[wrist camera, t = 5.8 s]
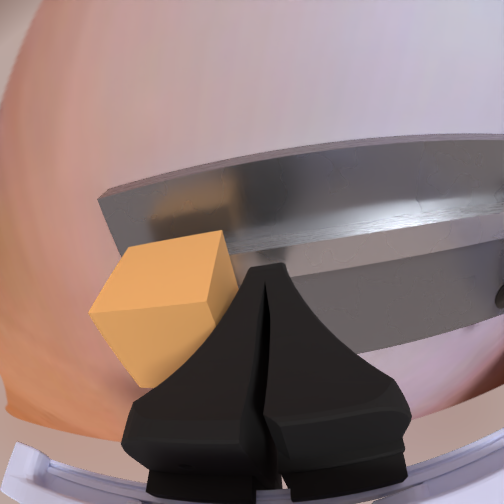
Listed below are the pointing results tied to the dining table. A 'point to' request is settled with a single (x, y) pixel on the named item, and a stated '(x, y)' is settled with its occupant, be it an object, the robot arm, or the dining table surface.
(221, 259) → the block
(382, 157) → the board
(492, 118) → the dining table surface
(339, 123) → the dining table surface
